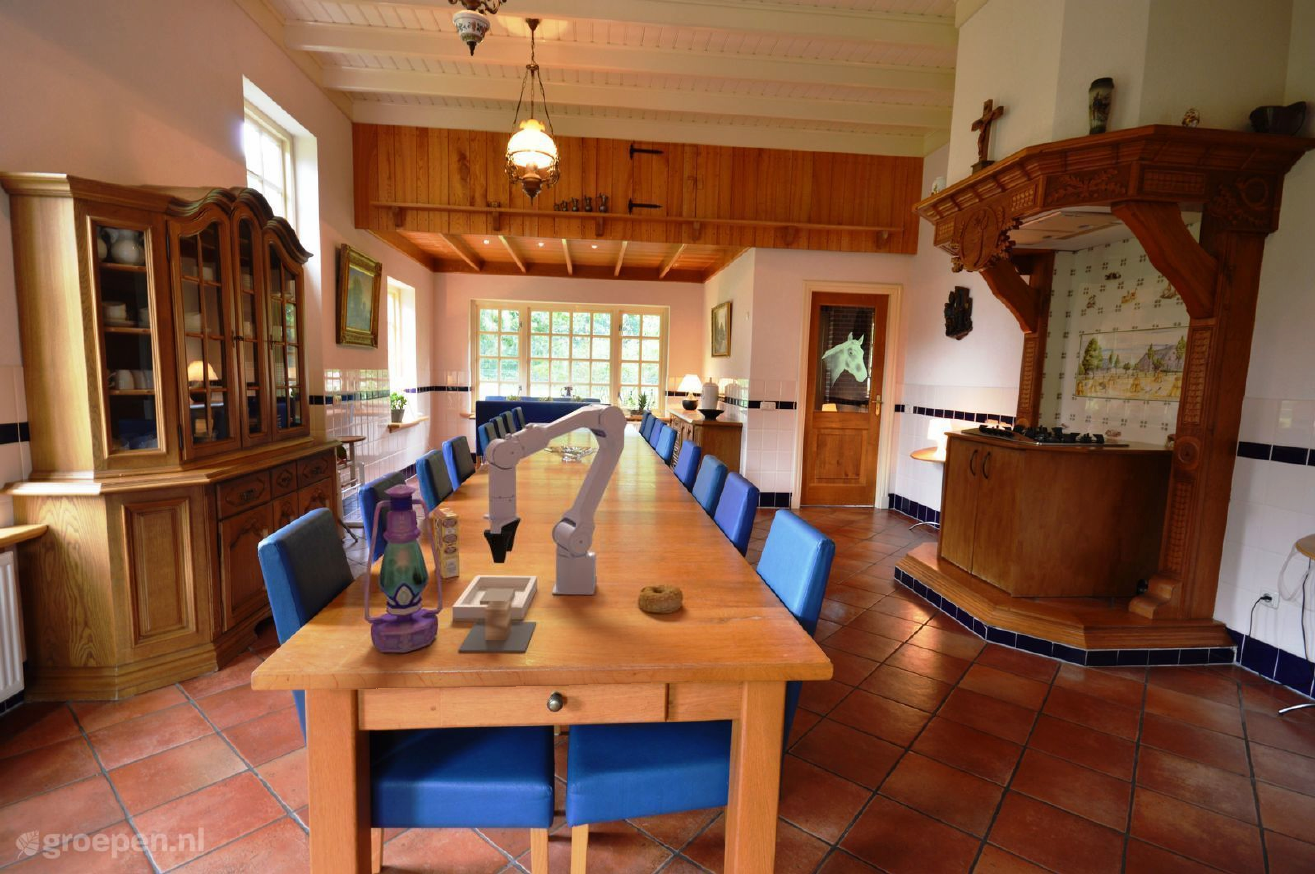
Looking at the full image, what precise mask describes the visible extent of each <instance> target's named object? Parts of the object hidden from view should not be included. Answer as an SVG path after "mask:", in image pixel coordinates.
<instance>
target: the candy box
mask: <svg viewBox="0 0 1315 874" xmlns="http://www.w3.org/2000/svg"><path fill="white" fill-rule="evenodd" d="M432 514H433V515H432V516H433V518H432V519H433V541H434V545H435V549H436V553H437V558H438V563H439V568H440V575H441V578H443V579H448V578H453V577H454V578H455V577H460V574H461V571H460V545H459V544H460V542H459V516H458V514H457V513H455V512H454V511H453V510H452V509H451V508H449V507H445V508H436V509H433V510H432Z"/></svg>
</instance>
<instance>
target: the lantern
mask: <svg viewBox="0 0 1315 874" xmlns="http://www.w3.org/2000/svg"><path fill="white" fill-rule="evenodd" d="M416 491H418V488H415V487H412V486H409V485H407V484H404V483H403V484H401V483H399V484H397V485H396V484H395V485H394V486H392V487H390V488H388V489H386V490H384V491H383V493H385V494H387V495H389V496H390V497H389V500H381V501H380V502H377V504H376V505H375V510H374V514H373V515H374V516H373V526H372V527H373V528H372V535H371V542H370V548H369V553H368V558H367V564H366V572H365V580H364V581H365V582H364V590H363V591H364V593H363V594H364V596H363V597H364V599H363V600H364V620H365V621H366V622H367V623H368V624H371V626H370V638H371V643H372V645H373V646H374V647H376V648H377V649H378V650H379V651H380V652H381V653H403V654H404V653H409V652H412V651H414V650H418V649H421V648H424V647H426V646H429V645H430V644H431V643H432V642H433V640H434V639H435V638H436V636H437V635H438V629H439V617H438V616H437V615H439V614H440V613H441V611H442V610H443V587H442V586H443V584H442V583H443V582H442V576H441V574H440V568H439V563H438V558H437V553H436V549H435V545H434V535H433V532H432V528H431V522H430V521H431V520H430V517H429V516H430V515H429V510H428V506H427V502H426V501H425V500H424V499H422V498H413V495H414V493H415V492H416ZM413 505H421V506H422V510H423V514H424V519H425V525H426V532H427V536H428V540H429V541H428V542H429V544H430V548H431V552H432V557H433V562H434V568H435V573H436V580H437V599H438V600H437V601H438V603H437V604H438V605H437V607H436V609H427V608H423V604H422V601H423V598H422V596H421V595H422V593H423V592H424V590H425V588H426V586H427V584H428V581H429V573H428V569H427V566H426V562H425V557H424V554H423V551H422V548H421V546H420V543H419V542H418V540H417V539H418V538H419V537H420V536H421V532H422V531H421V529H419V528H418V525H417V523H418V522H417V512H416V510H415V509H413ZM382 507H383V508H385V507H390V510H389V511H387V514H386V525H387V526H386V531H384V532H383V535H382V536H383V539H385V540H386V542H387V544H386V546H385V549H384V552H383V555H382V560H381V565H380V569H379V574H378V575H379V576H378V580H377V581H378V582H377V585H378V588H379V589H380V591H381V593H382V594H383V595H384V596H385V598H386V599H387V601H386V604H385V605H386V606H387V607H386V610H385V612H386V613H384V614H381V615H380V616H376V617H371V616H370V591H369V590H370V589H369V588H370V579H371V571H372V570H371V569H372V563H373V556H374V551H375V547H376V541H377V539H376V538H377V535H378V526H379V516H380V512H381V508H382Z"/></svg>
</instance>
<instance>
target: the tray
mask: <svg viewBox="0 0 1315 874" xmlns="http://www.w3.org/2000/svg"><path fill="white" fill-rule="evenodd" d="M537 590H538V575H497V574H496V575H491V574H489V575H487V574H486V575H485V574H484V575H483V574H481V575H478V574H477V575H475V576H474V577H473V579H472V581H471V582H470V583H469V585H468V586H467V587H466V588H465V589H464V591H463V592H462V593H461V595H460V597H459V598H458V599H457V600H456V602H454V604H453V605H452V621H453V622H476V621H484V622H485V609H486V607H487V605H488V604H489V602H490V601H511V622H524V619H525V617H526V615H527V613H528V612H527V611H528V610H529V607H530V605H531V603H532V600H533V598H534V596H535V594H536V591H537Z"/></svg>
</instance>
